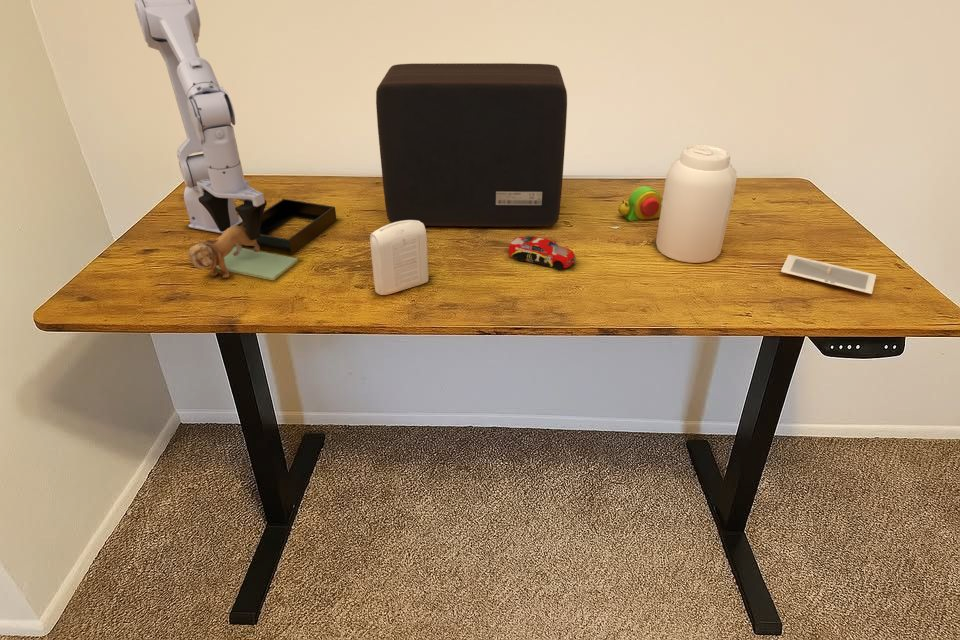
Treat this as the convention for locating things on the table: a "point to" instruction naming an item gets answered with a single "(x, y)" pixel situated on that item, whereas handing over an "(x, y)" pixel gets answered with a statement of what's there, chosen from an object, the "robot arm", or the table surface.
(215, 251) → the lion figurine
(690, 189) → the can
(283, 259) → the sage mat
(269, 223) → the picture frame
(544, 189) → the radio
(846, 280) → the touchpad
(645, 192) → the toy snail
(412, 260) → the photo printer
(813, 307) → the table surface
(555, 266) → the race car
